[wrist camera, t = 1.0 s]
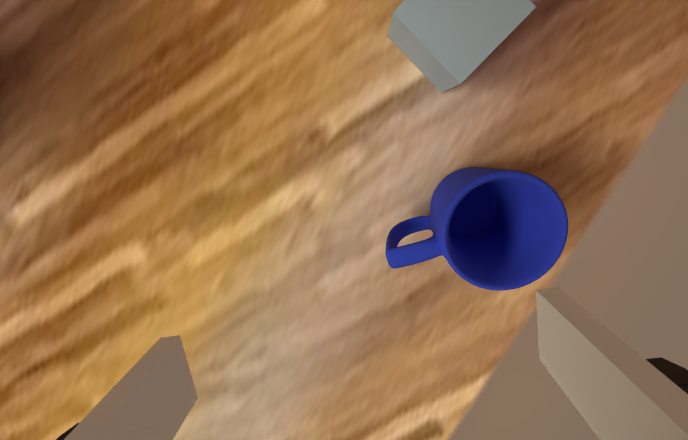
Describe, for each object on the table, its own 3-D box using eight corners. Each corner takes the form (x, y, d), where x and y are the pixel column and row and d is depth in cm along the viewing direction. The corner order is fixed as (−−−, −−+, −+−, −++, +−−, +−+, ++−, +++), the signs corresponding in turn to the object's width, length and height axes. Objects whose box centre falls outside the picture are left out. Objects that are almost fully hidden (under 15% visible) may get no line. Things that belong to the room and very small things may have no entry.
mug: (369, 187, 35) (370, 210, 26) (501, 146, 34) (556, 154, 24) (394, 268, 37) (404, 318, 27) (521, 233, 36) (579, 273, 26)
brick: (387, 36, 32) (393, 13, 26) (444, -28, 31) (467, -71, 24) (441, 92, 33) (460, 84, 26) (499, 32, 32) (536, 6, 25)
